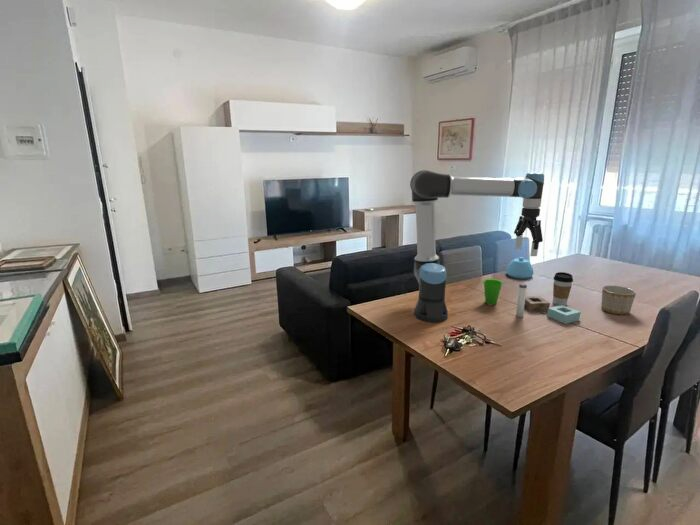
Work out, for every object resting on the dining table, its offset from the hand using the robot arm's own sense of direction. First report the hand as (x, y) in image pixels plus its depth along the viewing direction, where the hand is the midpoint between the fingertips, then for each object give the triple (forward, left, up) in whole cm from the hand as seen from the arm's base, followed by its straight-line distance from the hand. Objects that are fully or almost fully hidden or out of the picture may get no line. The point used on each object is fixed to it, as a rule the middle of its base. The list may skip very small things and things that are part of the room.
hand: (525, 252), depth 176 cm
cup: (-13, +4, -27) cm, 30 cm away
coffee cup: (+20, 0, -27) cm, 33 cm away
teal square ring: (+11, -17, -26) cm, 33 cm away
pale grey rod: (-7, -13, -26) cm, 30 cm away
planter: (+40, -11, -27) cm, 50 cm away
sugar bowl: (+23, +46, -27) cm, 58 cm away
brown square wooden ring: (+5, -4, -26) cm, 27 cm away
